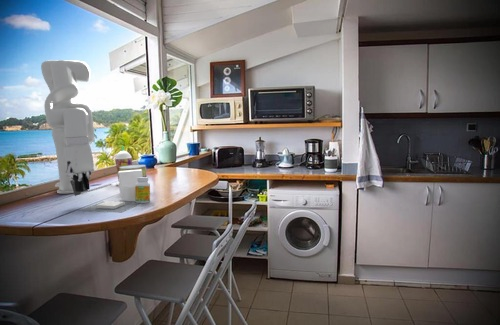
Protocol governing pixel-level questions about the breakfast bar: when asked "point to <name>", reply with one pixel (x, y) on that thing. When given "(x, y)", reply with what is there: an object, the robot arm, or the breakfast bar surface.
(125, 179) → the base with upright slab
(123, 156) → the smoothie
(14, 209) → the breakfast bar surface
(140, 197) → the supplement bottle
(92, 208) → the mat
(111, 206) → the tile
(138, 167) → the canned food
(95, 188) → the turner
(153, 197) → the breakfast bar surface
